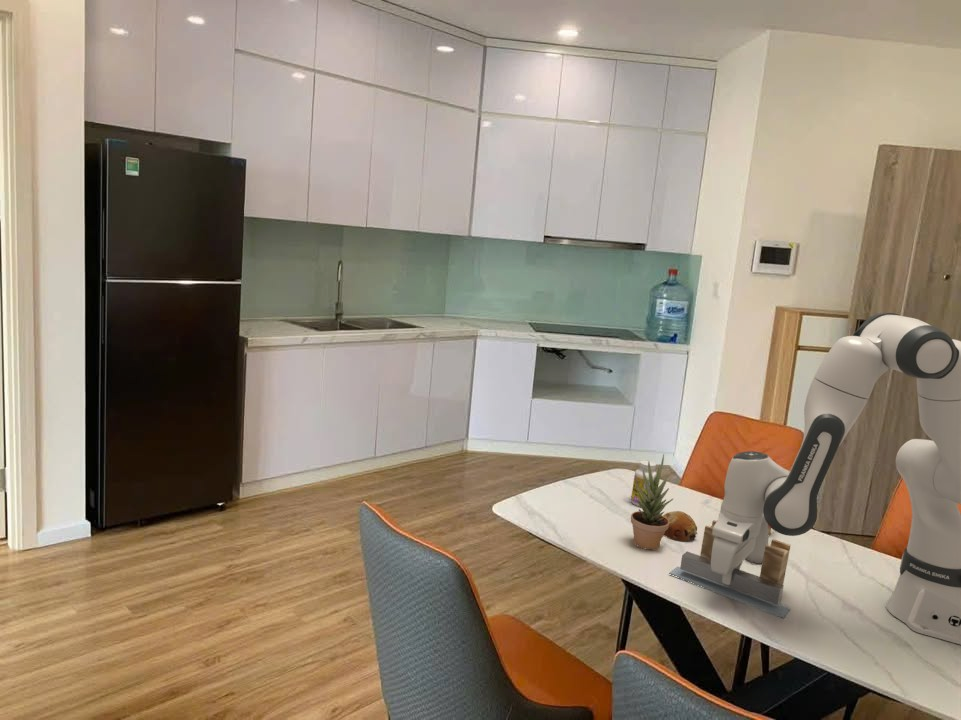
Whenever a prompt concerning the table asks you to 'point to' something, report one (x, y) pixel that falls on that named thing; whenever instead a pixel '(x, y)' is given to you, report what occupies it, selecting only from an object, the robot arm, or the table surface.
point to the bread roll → (680, 526)
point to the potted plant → (650, 512)
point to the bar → (734, 578)
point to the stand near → (775, 561)
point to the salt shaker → (760, 544)
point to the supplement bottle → (641, 480)
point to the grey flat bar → (732, 593)
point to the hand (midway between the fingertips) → (729, 580)
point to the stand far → (708, 541)
